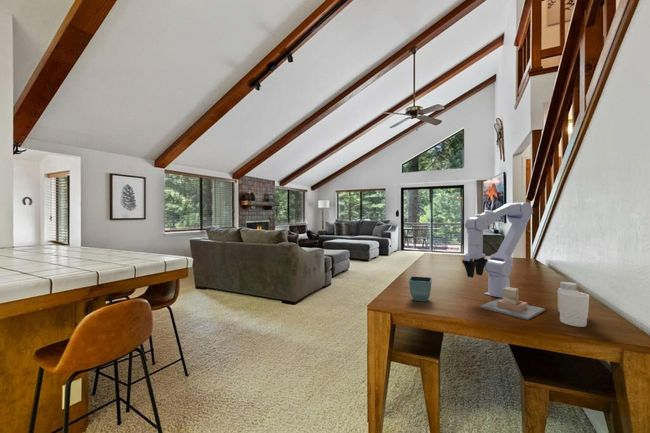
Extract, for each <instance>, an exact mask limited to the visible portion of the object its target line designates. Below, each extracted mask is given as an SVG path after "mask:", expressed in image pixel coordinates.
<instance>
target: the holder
mask: <svg viewBox="0 0 650 433" xmlns="http://www.w3.org/2000/svg"><path fill="white" fill-rule="evenodd" d="M480 309H484V310H488V311H490V312H491V311H492V312H496V313H498V314H499V313H500V314H503V315H507V316H511V317H515V318H518V319H522V320H527V321H529V320H531V319H533V318H534V317H536V316H538V315H540V314H542V313H543V312H545V310H546V309H545V308H543V307H539V306H535V305H530V304H528V302H526V301H521V300H518V305H514V304H510V303H506V302H503V298H497V299H495V300H492V301H489V302H487V303H483V304H481V305H480Z"/></svg>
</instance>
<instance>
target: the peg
mask: <svg viewBox="0 0 650 433" xmlns="http://www.w3.org/2000/svg"><path fill="white" fill-rule="evenodd" d="M502 299H503V302H506V303H510V304H514V305H518V301H519V288H515V287H511V286H510V287H505V288H504V289H503V298H502Z"/></svg>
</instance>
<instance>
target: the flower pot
mask: <svg viewBox="0 0 650 433" xmlns="http://www.w3.org/2000/svg"><path fill="white" fill-rule="evenodd" d="M432 279H433V278H432V277H429V276H428V277H427V276H415V275H414V276H412V275H411V276H410V277H409V279H408V284H409V293H410V295H411V297H412V299H413V301H416V302H424V303H425V302H428V300H429V298H430V296H431V291H432V290H431V289H432Z"/></svg>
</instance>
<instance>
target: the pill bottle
mask: <svg viewBox="0 0 650 433" xmlns="http://www.w3.org/2000/svg"><path fill="white" fill-rule="evenodd" d="M559 285H560V287H559V288H557V292H558V291H560V290H569V291H577V292H580V291H579V290H578V289H577V288H578V285H577V283H575V282H571V281H560V284H559ZM556 298H557V301H556V302H557V304H556V305H557V306H556V307H557V312H558V313H560V312H559V297H558V296H557V297H556Z"/></svg>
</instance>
